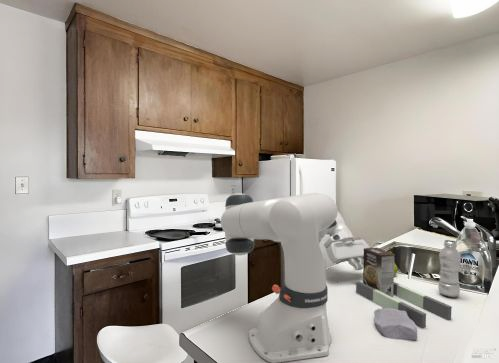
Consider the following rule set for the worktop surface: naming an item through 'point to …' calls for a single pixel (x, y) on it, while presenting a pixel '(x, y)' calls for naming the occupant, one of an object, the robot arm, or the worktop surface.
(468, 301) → the worktop surface
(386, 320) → the stone block
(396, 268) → the fruit
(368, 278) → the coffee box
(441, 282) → the plastic bottle
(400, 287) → the track
